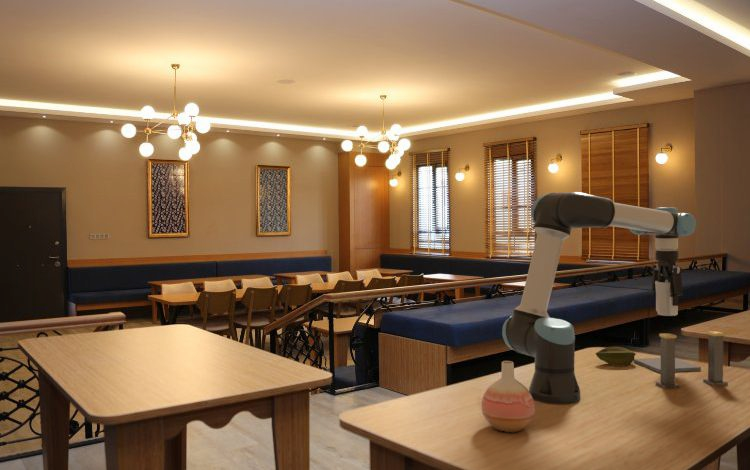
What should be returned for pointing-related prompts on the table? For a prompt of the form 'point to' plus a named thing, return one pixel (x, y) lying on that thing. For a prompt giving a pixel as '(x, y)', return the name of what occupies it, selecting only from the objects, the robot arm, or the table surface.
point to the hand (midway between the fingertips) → (666, 312)
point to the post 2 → (715, 359)
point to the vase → (508, 402)
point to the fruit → (616, 356)
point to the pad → (656, 365)
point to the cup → (663, 298)
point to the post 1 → (668, 362)
